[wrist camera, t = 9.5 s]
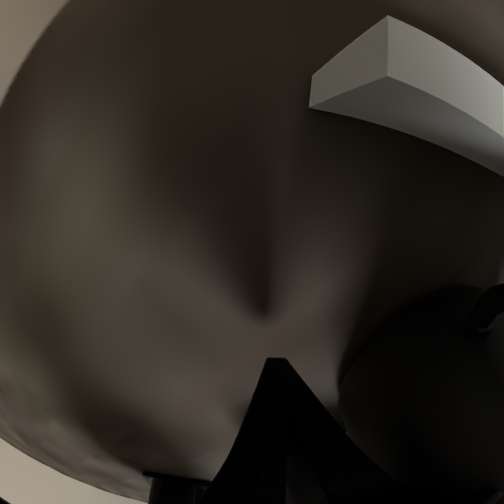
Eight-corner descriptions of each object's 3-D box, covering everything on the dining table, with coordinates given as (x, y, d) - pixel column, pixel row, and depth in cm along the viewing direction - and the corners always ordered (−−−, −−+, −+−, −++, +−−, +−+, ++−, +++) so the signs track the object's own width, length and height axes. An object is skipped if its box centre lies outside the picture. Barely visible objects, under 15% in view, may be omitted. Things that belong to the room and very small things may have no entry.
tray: (434, 416, 14) (454, 458, 10) (248, 443, 13) (249, 506, 9) (546, 185, 7) (600, 213, 3) (312, 75, 6) (387, 15, 2)
